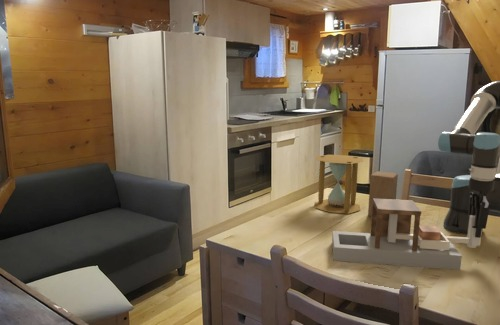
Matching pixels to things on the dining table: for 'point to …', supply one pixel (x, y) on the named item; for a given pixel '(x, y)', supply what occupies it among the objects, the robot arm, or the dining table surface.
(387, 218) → the tunnel
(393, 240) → the slider
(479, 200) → the robot arm
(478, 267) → the dining table surface
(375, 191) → the wooden block
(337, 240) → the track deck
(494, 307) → the dining table surface
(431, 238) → the block
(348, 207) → the hourglass
